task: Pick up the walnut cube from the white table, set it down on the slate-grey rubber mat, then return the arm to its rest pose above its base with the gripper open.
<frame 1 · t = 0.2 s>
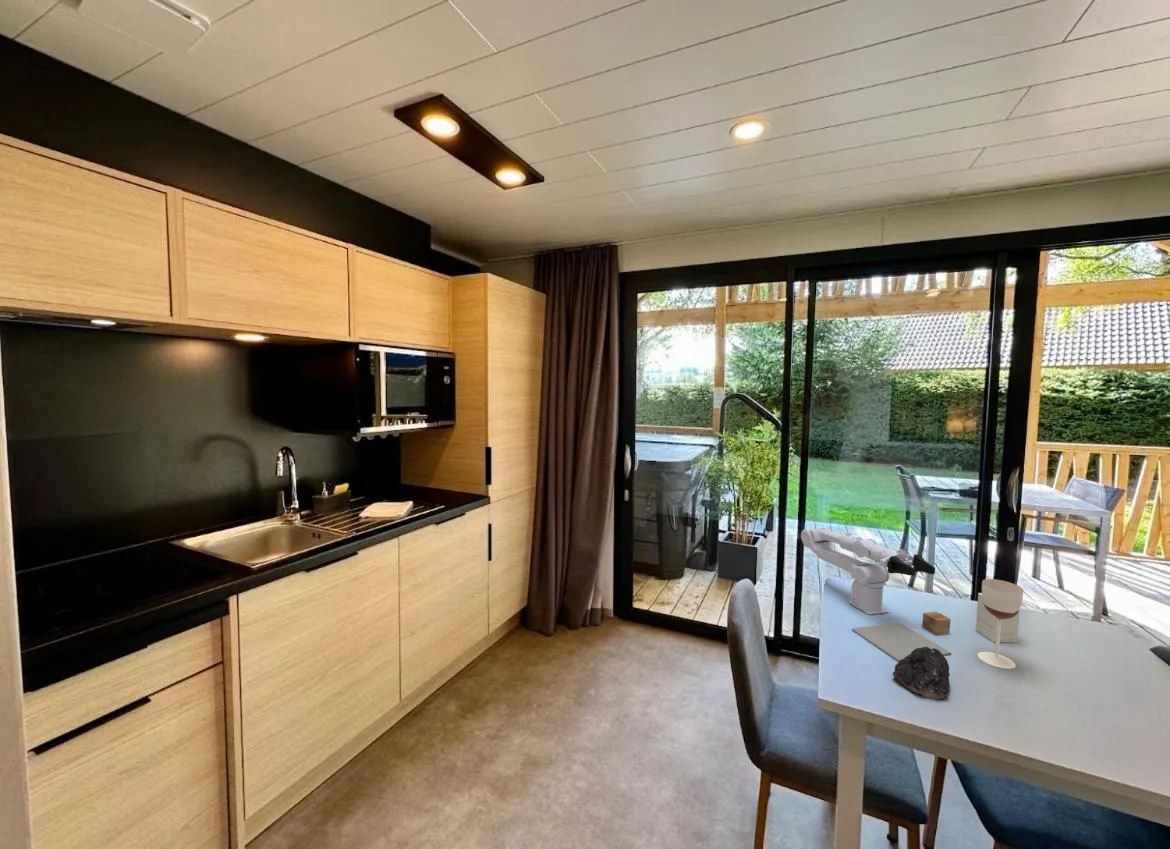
hand: (924, 571, 147), 21 cm above the table, tool horizontal, fingers open, 7 cm apart
walnut cube: (935, 630, 153), on the table
wineglass: (996, 660, 137), on the table
supplement box: (995, 636, 150), on the table
dark grey rock: (921, 684, 127), on the table
grey mat: (899, 641, 147), on the table
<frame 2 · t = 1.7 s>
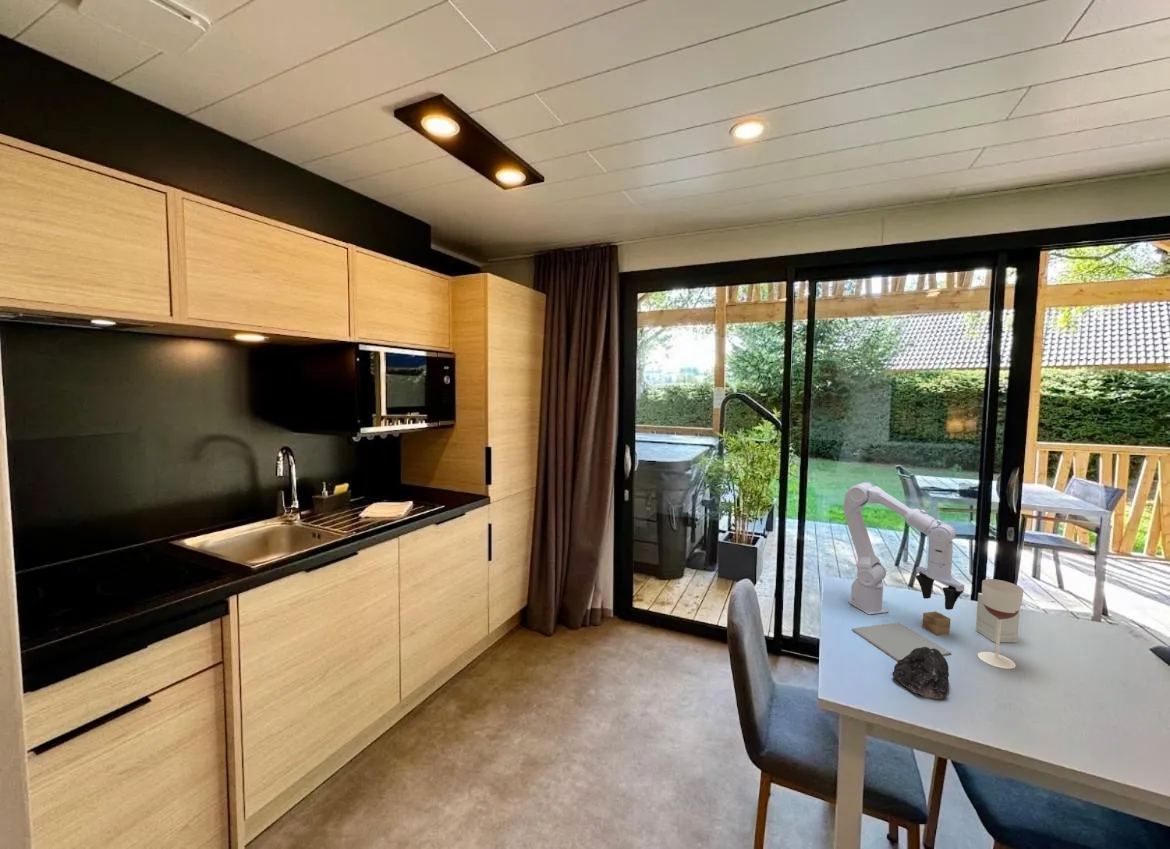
hand: (937, 603, 153), 9 cm above the table, tool pointing down, fingers open, 7 cm apart
nothing on the table moved.
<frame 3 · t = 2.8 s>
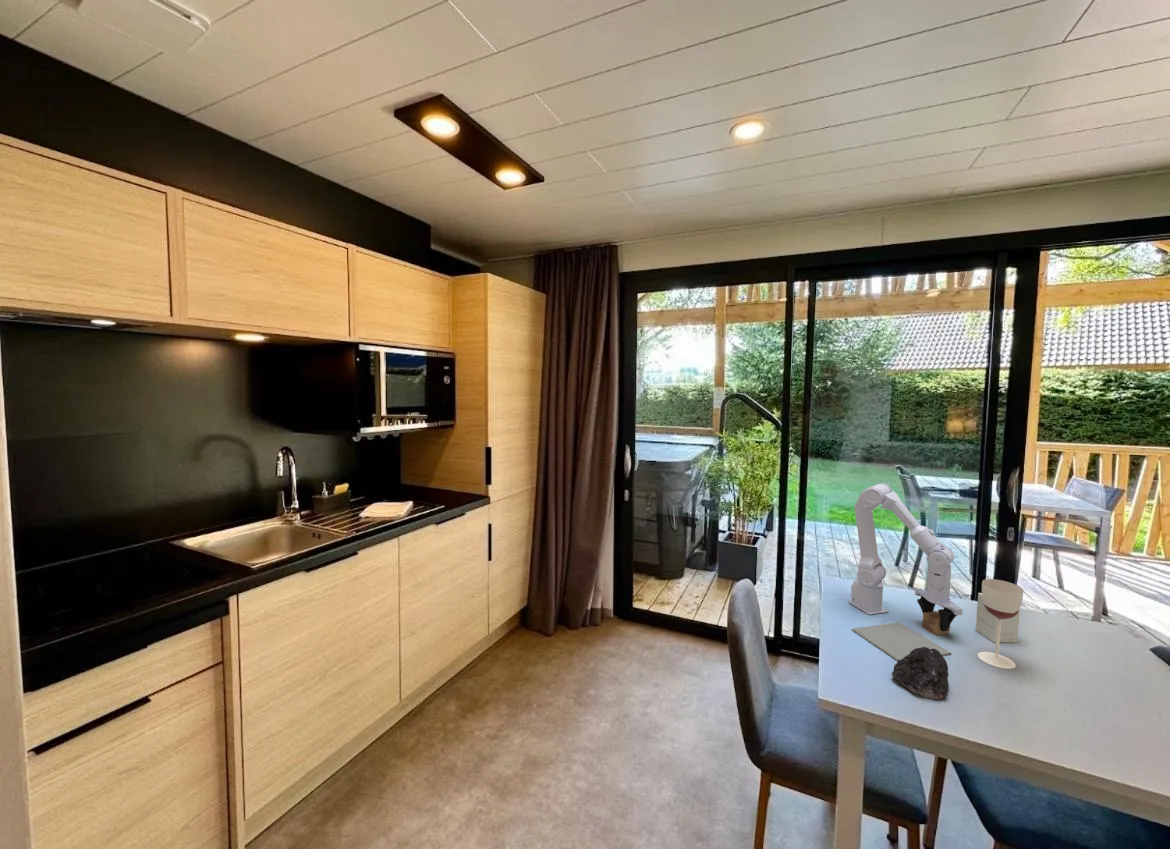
hand: (935, 626, 153), 1 cm above the table, tool pointing down, fingers closed on walnut cube, 5 cm apart
walnut cube: (935, 630, 153), on the table, touching gripper
everything else where it was.
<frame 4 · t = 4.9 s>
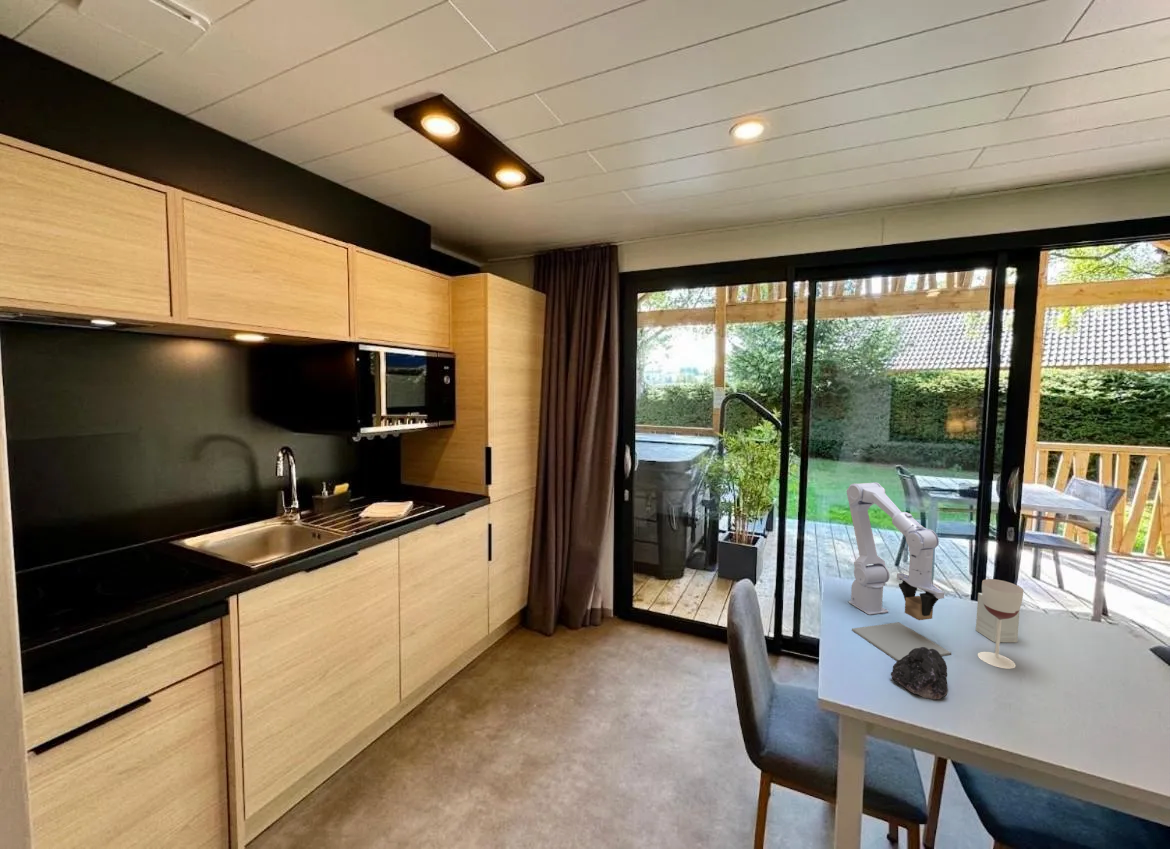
hand: (917, 610, 149), 8 cm above the table, tool pointing down, fingers closed on walnut cube, 5 cm apart
walnut cube: (918, 615, 149), point 7 cm above the table, touching gripper
everything else where it was.
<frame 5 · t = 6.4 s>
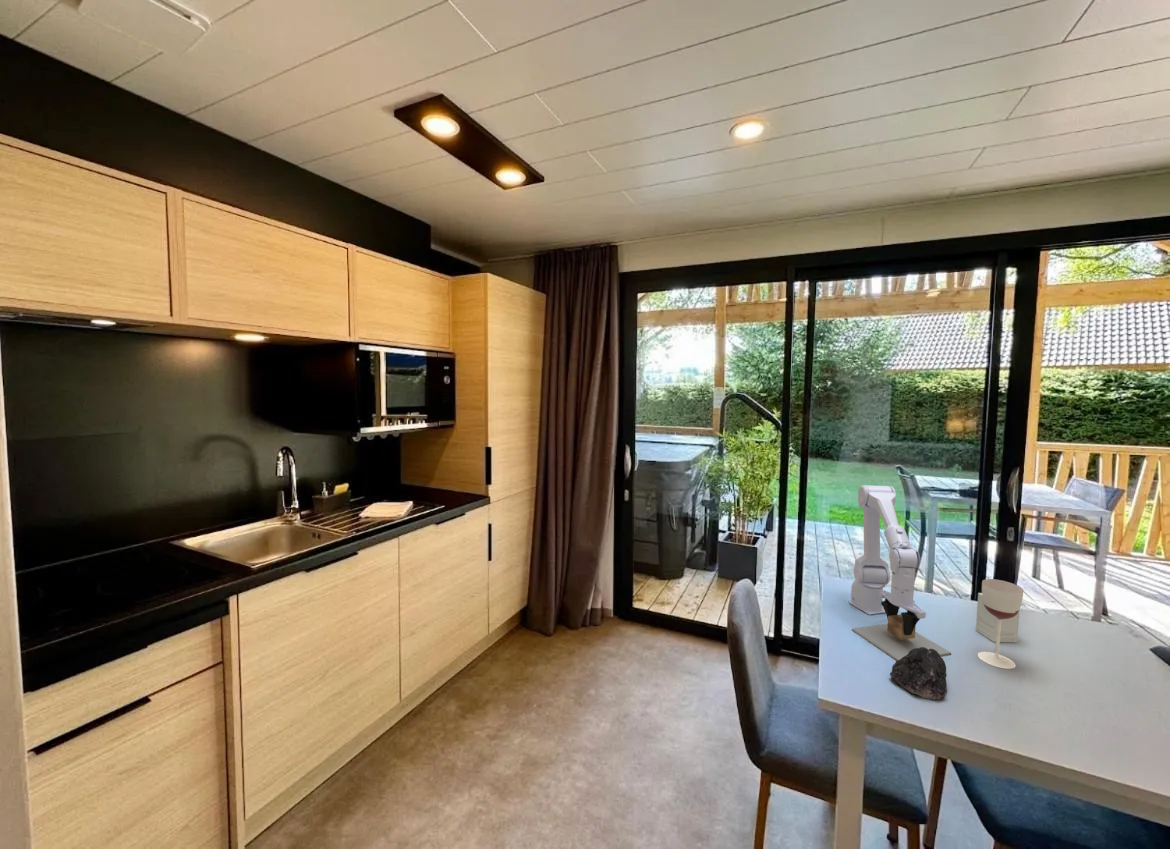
hand: (899, 629, 147), 4 cm above the table, tool pointing down, fingers closed on walnut cube, 5 cm apart
walnut cube: (900, 634, 147), point 2 cm above the table, touching gripper
everything else where it was.
when the fingers open (4 cm above the table, at t = 7.2 s): walnut cube drops 2 cm, resting on grey mat.
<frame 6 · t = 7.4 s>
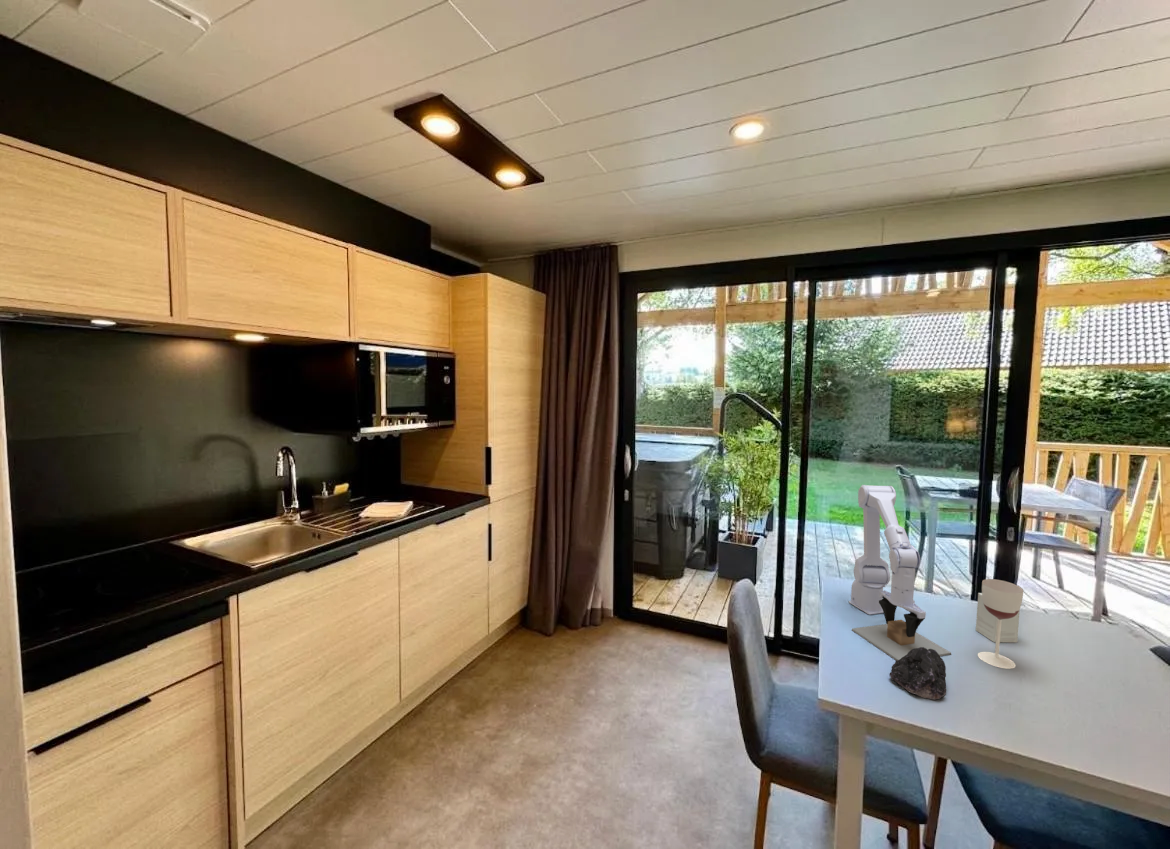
hand: (899, 629, 147), 4 cm above the table, tool pointing down, fingers open, 7 cm apart
walnut cube: (900, 640, 147), point 1 cm above the table, touching grey mat
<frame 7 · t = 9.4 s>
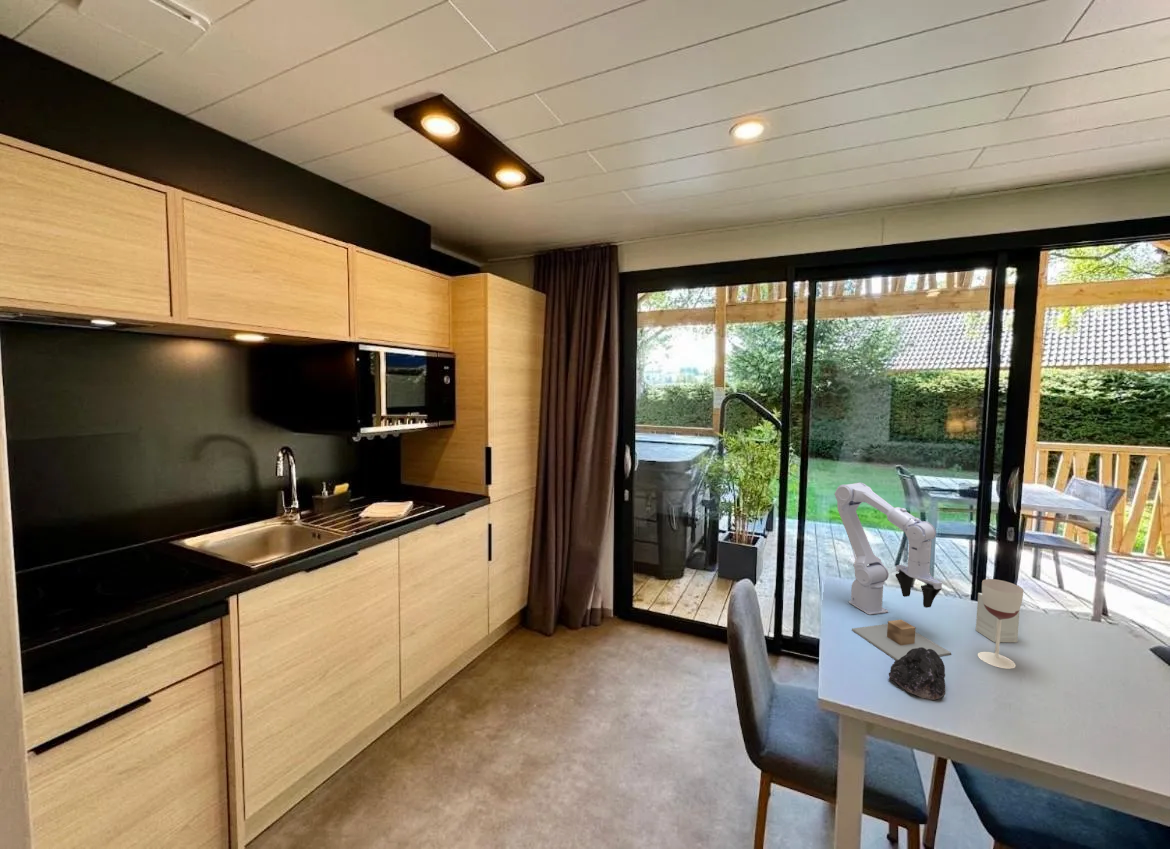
hand: (916, 601, 153), 9 cm above the table, tool pointing down, fingers open, 7 cm apart
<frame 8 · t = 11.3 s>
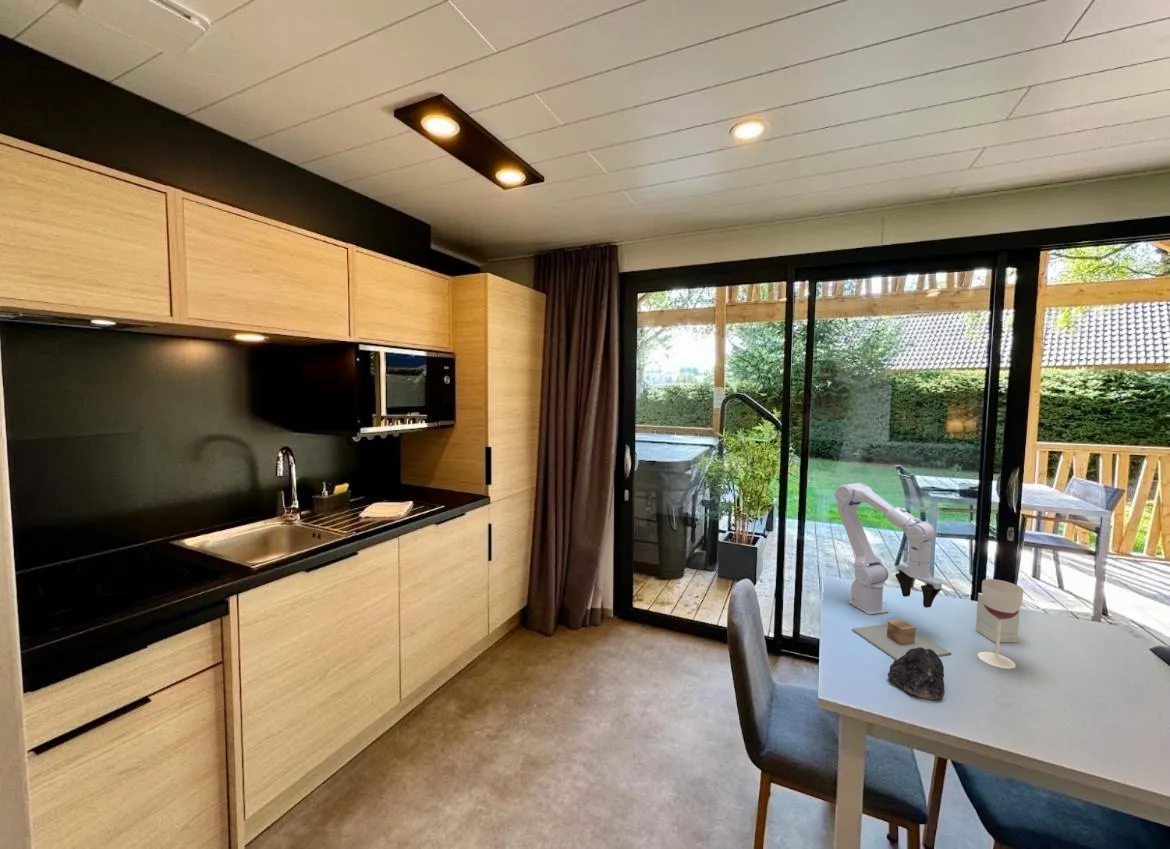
hand: (916, 601, 153), 9 cm above the table, tool pointing down, fingers open, 7 cm apart
at the end: walnut cube inside the target area on the grey mat (0.4 cm from its centre), point 0.6 cm above the grey mat's base; walnut cube tilted 0°; the gripper is holding nothing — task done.
